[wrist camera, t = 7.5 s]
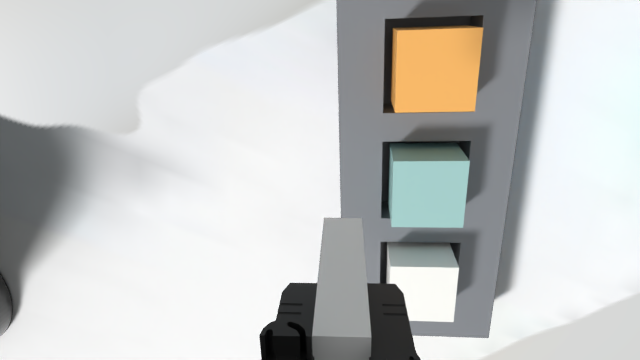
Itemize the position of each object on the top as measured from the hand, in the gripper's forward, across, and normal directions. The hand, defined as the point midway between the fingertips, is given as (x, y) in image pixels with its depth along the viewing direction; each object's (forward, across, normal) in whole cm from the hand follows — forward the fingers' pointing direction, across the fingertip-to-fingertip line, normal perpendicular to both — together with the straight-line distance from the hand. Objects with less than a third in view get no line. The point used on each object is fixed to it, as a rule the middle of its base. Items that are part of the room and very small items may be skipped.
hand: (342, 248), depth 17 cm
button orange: (+15, +6, +5) cm, 17 cm away
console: (+17, +6, -3) cm, 18 cm away
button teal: (+15, +6, -3) cm, 16 cm away
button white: (+15, +6, -11) cm, 19 cm away
